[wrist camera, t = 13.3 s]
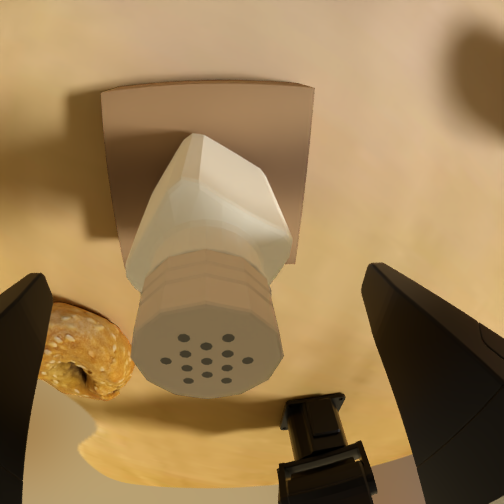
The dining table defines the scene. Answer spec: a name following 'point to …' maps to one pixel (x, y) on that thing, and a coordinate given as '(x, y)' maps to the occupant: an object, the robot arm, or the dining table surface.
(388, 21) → the dining table surface
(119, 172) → the walnut block
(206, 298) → the pepper shaker
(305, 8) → the dining table surface
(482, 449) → the robot arm
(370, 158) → the dining table surface
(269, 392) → the dining table surface
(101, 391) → the bagel
